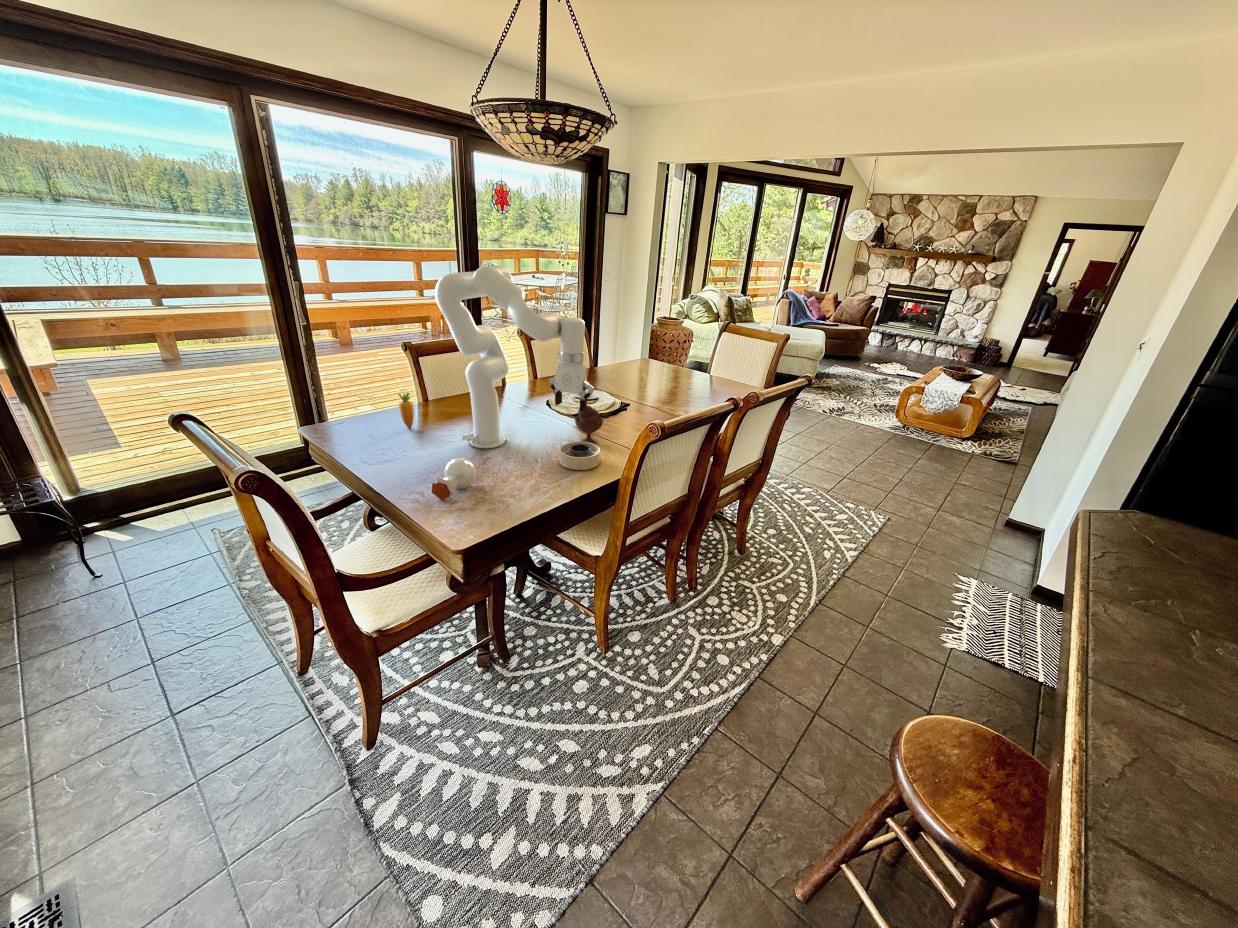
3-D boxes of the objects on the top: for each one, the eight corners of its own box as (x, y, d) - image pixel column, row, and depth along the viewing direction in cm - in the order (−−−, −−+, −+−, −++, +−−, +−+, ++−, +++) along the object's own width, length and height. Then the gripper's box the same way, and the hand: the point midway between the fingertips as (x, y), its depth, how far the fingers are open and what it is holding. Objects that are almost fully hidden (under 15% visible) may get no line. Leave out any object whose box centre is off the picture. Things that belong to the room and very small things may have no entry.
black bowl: (575, 466, 165) (575, 453, 163) (566, 458, 170) (566, 446, 168) (592, 463, 168) (593, 450, 166) (584, 455, 173) (584, 443, 171)
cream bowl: (569, 474, 160) (569, 460, 158) (552, 457, 171) (552, 445, 169) (606, 466, 167) (607, 453, 165) (588, 451, 178) (588, 439, 176)
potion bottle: (475, 483, 155) (447, 510, 142) (451, 464, 154) (421, 489, 141) (487, 466, 149) (459, 493, 137) (462, 446, 148) (432, 471, 136)
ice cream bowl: (599, 449, 180) (600, 411, 174) (570, 445, 182) (570, 408, 176) (605, 438, 190) (606, 402, 183) (578, 435, 192) (578, 399, 185)
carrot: (400, 429, 188) (394, 393, 182) (409, 425, 192) (403, 389, 186) (409, 432, 187) (404, 395, 180) (419, 428, 191) (414, 391, 184)
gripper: (543, 355, 156) (543, 404, 164) (589, 364, 150) (586, 415, 157) (556, 351, 162) (555, 399, 170) (600, 359, 156) (598, 409, 163)
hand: (570, 407), depth 164 cm, fingers open, 9 cm apart
